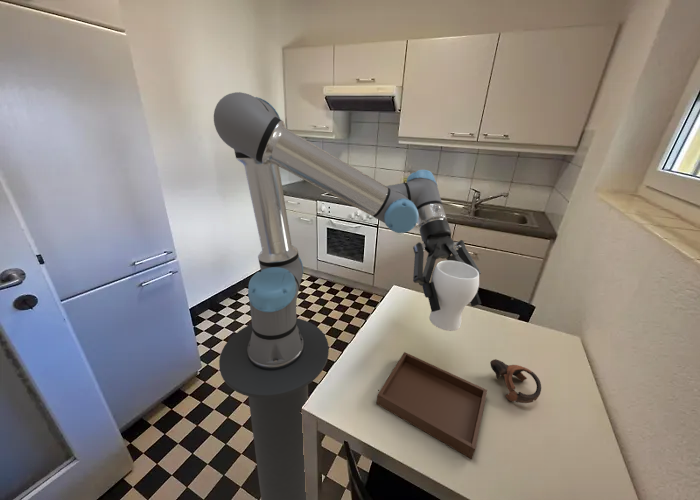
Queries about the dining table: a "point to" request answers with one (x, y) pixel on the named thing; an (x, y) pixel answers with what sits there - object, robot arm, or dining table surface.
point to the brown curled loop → (507, 372)
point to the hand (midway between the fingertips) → (456, 308)
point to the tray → (435, 402)
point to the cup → (453, 292)
